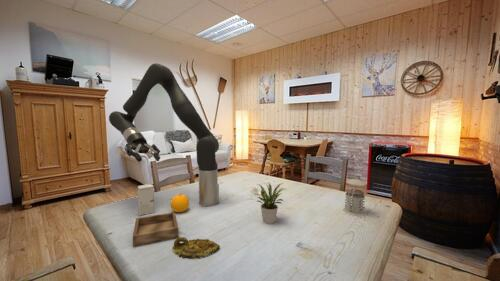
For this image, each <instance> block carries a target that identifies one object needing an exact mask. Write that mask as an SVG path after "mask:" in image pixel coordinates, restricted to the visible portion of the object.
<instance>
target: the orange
mask: <svg viewBox="0 0 500 281" xmlns="http://www.w3.org/2000/svg"><path fill="white" fill-rule="evenodd" d="M189 205H190V200H189V198H188V196H186V195H185V194H181V193H180V194H176V195H174V196H173V198H172V199H171V201H170V208H171V209H172V211H173V212H176V213H181V212H185V211H187V210H188V208H189Z"/></svg>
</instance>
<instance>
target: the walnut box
mask: <svg viewBox="0 0 500 281" xmlns="http://www.w3.org/2000/svg"><path fill="white" fill-rule="evenodd" d="M177 221H178V220H177V216H176V213H175V211H173V212H166V213H165V212H164V213H160V214H153V215H148V216H141V217H136V218H135V222H134V223H135V224H134V228H133V233H132V248H135V247H139V246H144V245H149V244H154V243H160V242H162V241H168V240H173V239H174V240H175V239H176V238H179V225H178V222H177Z"/></svg>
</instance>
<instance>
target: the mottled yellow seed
mask: <svg viewBox="0 0 500 281" xmlns="http://www.w3.org/2000/svg"><path fill="white" fill-rule="evenodd" d="M220 247H221V246H220V245H219V244H218V243H216V242H215V241H213V240H210V239H207V238H204V239H203V238H197V239H189V240H188V238H187V237H186V236H183V237H178V238H174V242H173V245H172V247H171V249H172V250H171V251H172V253H173V254H174V255H175V256H176V255H177V256H176V257H178V256H179V258H181V257H182V258H181V259H185V258H189V259H191V258H198V259H201V258H200V257H204V258H206V257H205V256H207V257H209V256H210V254H211V255H213V254H212V253H214V254H215V253H216V251H217V252H218V251H219V250H220ZM208 255H209V256H208Z"/></svg>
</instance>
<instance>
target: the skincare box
mask: <svg viewBox="0 0 500 281" xmlns="http://www.w3.org/2000/svg"><path fill="white" fill-rule="evenodd" d="M154 190H155V188H154V185H153V184H152V183H151V184H150V183H149V184H142V185H138V186H137V206H138V208H137V209H138V210H137V211H138V212H137V213H138V215H139V216H143V215H147V214H154V212H155V202H154V201H155V195H154V194H155V193H154V192H155V191H154Z"/></svg>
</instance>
